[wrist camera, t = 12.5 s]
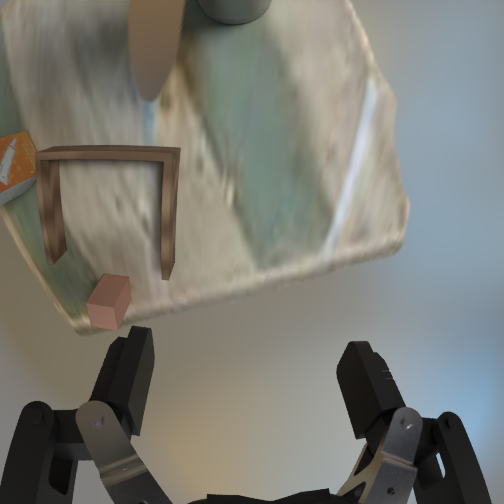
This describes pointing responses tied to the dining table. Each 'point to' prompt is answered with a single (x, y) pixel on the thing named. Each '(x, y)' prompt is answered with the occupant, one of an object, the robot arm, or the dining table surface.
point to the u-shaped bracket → (50, 158)
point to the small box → (16, 165)
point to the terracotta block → (109, 302)
